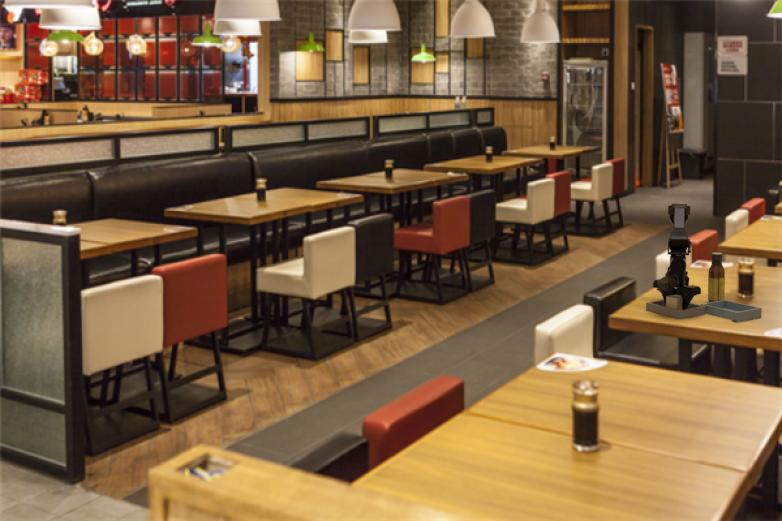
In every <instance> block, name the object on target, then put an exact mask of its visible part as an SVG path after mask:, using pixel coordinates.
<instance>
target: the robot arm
mask: <svg viewBox="0 0 782 521" xmlns="http://www.w3.org/2000/svg"><path fill="white" fill-rule="evenodd" d="M667 216H669V219H668V220H669V222H670V224H671V226H672V231H670V233H669V234H670V236H669V237H668V239H667V255H668V256H669V255H670V256H669V266H668V267H667V269H666V273H665V274H664V276H663V277H661V278H659V279H658V278H657V279H654V281H653V282H652V288H655V289H656V291H658V292H659V293H660V294H661V296H662V298H663V299H662V300H664V302H665V305H666V296H671V295H679V296H681V297H682V310H685V309H687V307H688V305H689V303H692V302H691V301H692V300H693V298H694V297H696V296H698V295H701V294H702V288H701V287H700V286H699V285H694V284H690V277H689V275H688V274H689V272H688V271H687V256H690V253H692V241H691V239H690V238H689V237H688V236H689V233H688V232H687V231H686V230H685V225H686V224H687V222H688V220H689V217H690V216H691V206H690V205H688V204H687V203H671V205H668V206H667Z"/></svg>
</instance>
